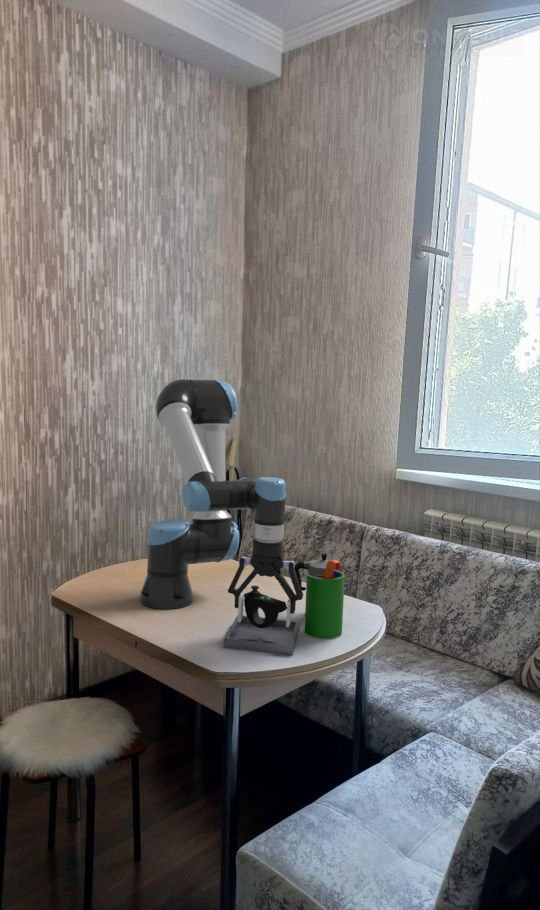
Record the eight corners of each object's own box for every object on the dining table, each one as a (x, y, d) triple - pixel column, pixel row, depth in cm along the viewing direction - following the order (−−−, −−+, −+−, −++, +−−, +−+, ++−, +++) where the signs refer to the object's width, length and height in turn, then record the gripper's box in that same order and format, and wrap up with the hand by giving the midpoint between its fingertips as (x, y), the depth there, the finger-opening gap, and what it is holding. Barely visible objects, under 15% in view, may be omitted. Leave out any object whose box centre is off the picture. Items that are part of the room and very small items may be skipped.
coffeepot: (338, 609, 201) (342, 549, 199) (348, 621, 192) (352, 558, 190) (286, 610, 198) (290, 549, 196) (294, 622, 189) (297, 558, 187)
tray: (237, 623, 185) (237, 614, 185) (299, 630, 183) (300, 621, 183) (223, 648, 169) (224, 638, 168) (292, 655, 166) (293, 645, 166)
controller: (250, 619, 181) (252, 582, 180) (287, 632, 173) (290, 593, 172) (239, 623, 178) (241, 585, 176) (277, 636, 170) (279, 597, 169)
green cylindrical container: (321, 622, 189) (325, 551, 187) (349, 631, 184) (353, 558, 181) (299, 632, 181) (303, 558, 179) (327, 642, 176) (332, 565, 174)
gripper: (218, 538, 171) (214, 623, 173) (314, 547, 167) (309, 632, 170) (224, 532, 178) (221, 613, 181) (317, 539, 175) (312, 622, 177)
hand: (264, 622), depth 175 cm, fingers closed on controller, 12 cm apart
